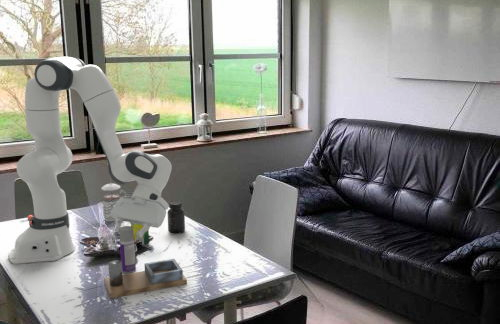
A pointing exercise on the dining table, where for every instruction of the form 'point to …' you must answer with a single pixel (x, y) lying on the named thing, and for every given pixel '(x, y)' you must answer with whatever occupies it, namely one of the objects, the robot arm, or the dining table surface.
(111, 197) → the french press
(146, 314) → the dining table surface
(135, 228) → the crayon box
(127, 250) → the container
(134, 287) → the wooden board
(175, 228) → the supplement bottle
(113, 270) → the metal post
